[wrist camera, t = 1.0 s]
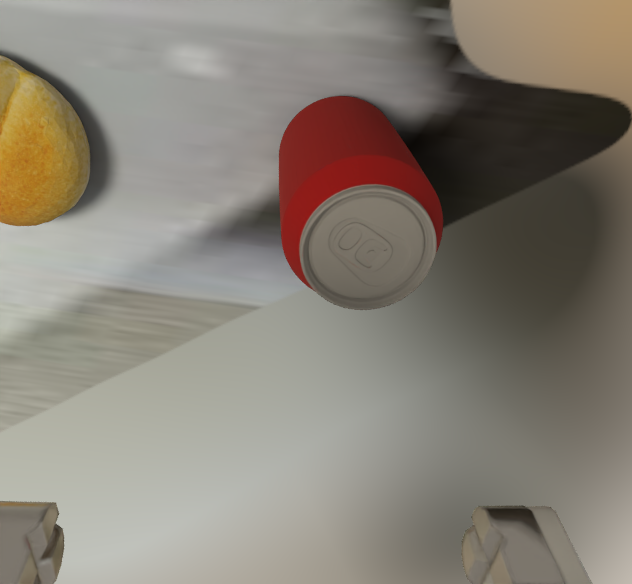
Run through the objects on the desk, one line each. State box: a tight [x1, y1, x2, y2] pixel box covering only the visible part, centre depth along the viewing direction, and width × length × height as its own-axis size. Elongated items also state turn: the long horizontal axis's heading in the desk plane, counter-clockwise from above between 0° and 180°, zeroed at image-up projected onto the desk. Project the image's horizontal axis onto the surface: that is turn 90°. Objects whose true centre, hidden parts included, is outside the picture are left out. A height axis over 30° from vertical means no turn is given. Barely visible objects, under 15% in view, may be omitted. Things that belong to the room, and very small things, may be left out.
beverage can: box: [279, 96, 443, 310], centre depth 26 cm, size 7×7×12 cm
